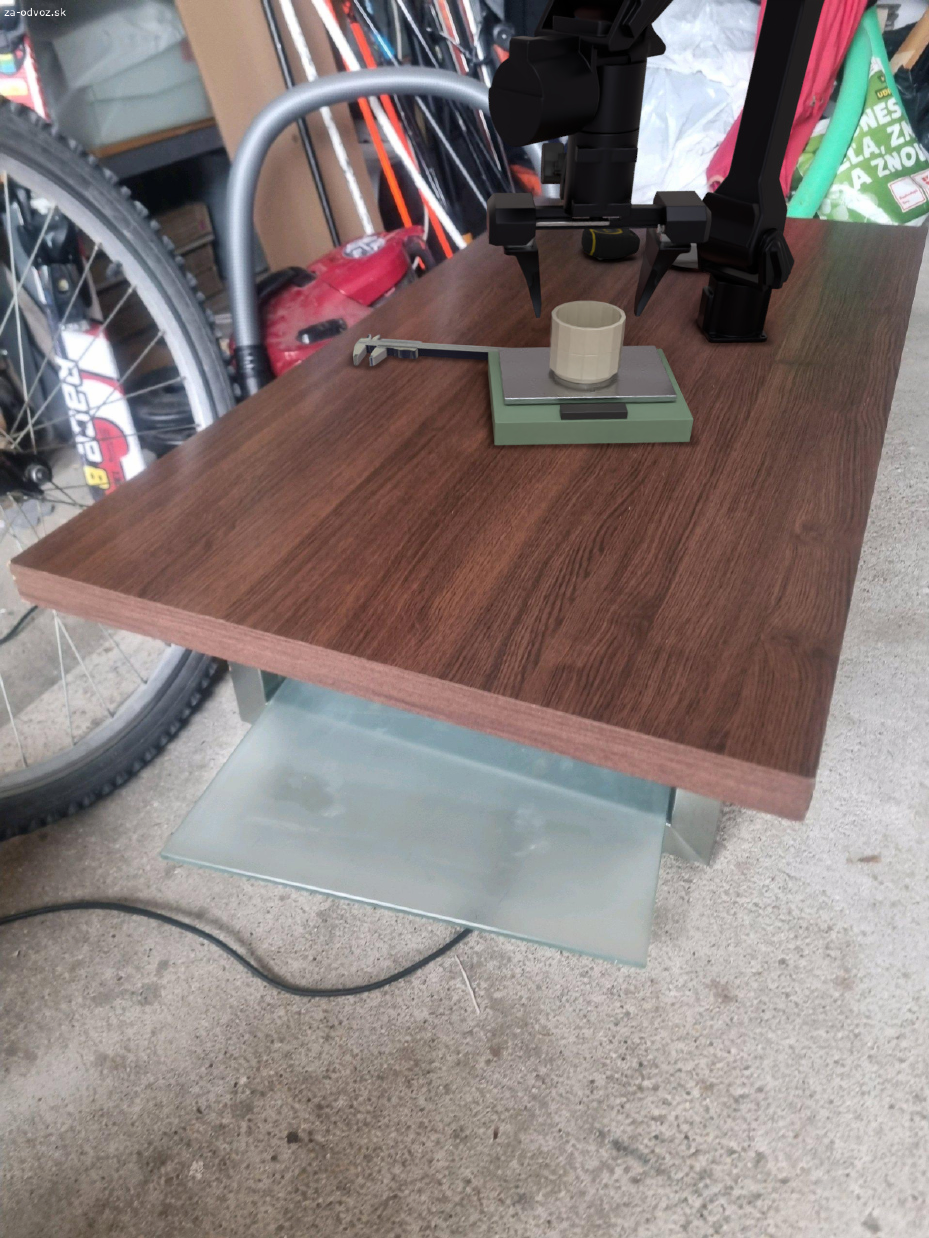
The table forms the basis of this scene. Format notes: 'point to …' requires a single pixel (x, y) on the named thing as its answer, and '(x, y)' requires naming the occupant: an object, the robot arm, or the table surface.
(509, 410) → the scale
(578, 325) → the cup
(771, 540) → the table surface
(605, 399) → the scale pan
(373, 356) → the caliper
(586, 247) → the tape measure
